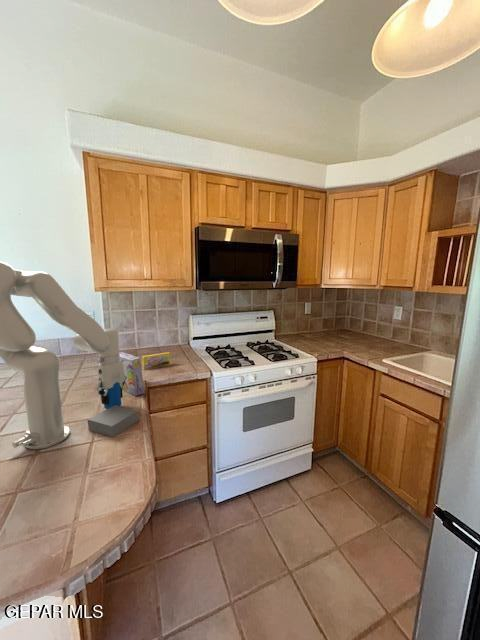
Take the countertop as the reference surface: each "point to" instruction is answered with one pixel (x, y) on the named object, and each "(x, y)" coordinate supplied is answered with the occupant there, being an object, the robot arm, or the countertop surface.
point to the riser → (113, 420)
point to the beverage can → (114, 396)
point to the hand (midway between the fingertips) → (112, 400)
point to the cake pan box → (132, 374)
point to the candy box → (156, 360)
